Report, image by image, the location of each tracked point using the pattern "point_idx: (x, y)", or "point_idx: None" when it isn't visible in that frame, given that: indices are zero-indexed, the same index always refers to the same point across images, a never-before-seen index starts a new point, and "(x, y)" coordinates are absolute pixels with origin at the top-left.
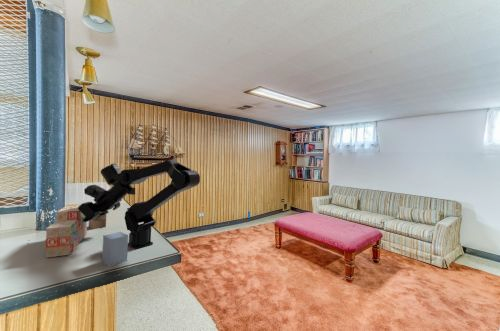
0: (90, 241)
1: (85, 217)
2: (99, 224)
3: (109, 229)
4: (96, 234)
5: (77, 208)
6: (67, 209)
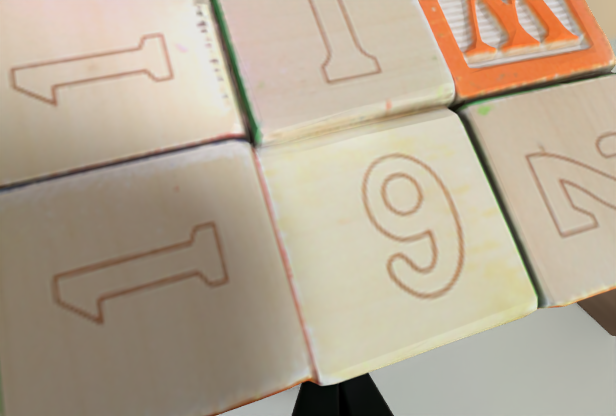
0: (237, 412)
1: (297, 398)
2: (601, 299)
3: (553, 406)
4: (415, 363)
5: (99, 357)
6: (24, 124)
